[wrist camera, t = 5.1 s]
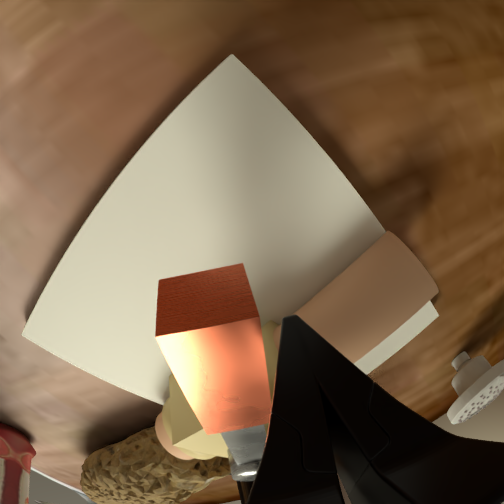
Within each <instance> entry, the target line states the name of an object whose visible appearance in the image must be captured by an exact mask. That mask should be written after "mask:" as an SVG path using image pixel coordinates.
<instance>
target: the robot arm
mask: <svg viewBox="0 0 504 504" xmlns="http://www.w3.org/2000/svg"><path fill="white" fill-rule="evenodd" d="M337 472H338V474H339V477H340V479H341V481H342V483H343V486H344V488H345V490H346V492H347V494H348V497H349V499H350V501H351V503H352V504H504V443H503V442H493V441H485V440H478V439H470V438H464V437H460V436H456V435H454V434H451V433H449V432H447V431H445V430H443V429H442V428H440V427H438V426H437V425H435V424H433V423H432V422H430V421H429V420H427V419H425V418H424V417H422V416H421V415H419V414H417V413H416V412H414V411H413V410H411V409H410V408H408V407H407V406H405V405H404V404H402V403H401V402H399V401H398V400H396V399H395V398H394V397H393V396H391V395H390V394H389V393H388V392H386V391H385V390H384V389H383V388H381V387H380V386H379V385H378V384H377V383H375V382H374V383H373V380H372V379H371V378H370V377H368V376H367V375H366V374H365V373H364V372H363V371H361V370H360V369H359V368H358V367H357V366H356V365H354V364H353V363H352V362H351V361H350V360H349V359H347V358H346V357H345V356H344V355H343V354H342V353H340V352H339V351H338V350H337V349H336V348H335V347H333V346H332V345H331V344H330V343H329V342H328V341H327V340H325V339H324V338H323V337H322V336H321V335H320V334H319V333H317V332H316V331H315V330H314V329H313V328H312V327H310V326H309V325H308V324H307V323H306V322H305V321H304V320H302V319H301V318H300V317H299V316H298V315H296V314H294V315H290V316H286V317H283V318H282V324H281V334H280V342H279V351H278V360H277V368H276V376H275V384H274V392H273V400H272V407H271V415H270V421H269V427H268V433H267V438H266V443H265V447H264V451H263V454H262V458H261V461H260V464H259V467H258V470H257V473H256V476H255V479H254V481H237V485H238V490H239V494H240V499H241V503H242V504H345V502H344V499H343V496H342V492H341V488H340V484H339V479H338V475H337ZM229 475H232V474H229Z"/></svg>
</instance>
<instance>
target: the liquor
mask: <svg viewBox="0 0 504 504" xmlns="http://www.w3.org/2000/svg"><path fill="white" fill-rule="evenodd" d="M35 455H36V451H35V450H34V448H33V447H32V445H31V444H30V442H29V441H28V439H27V438H26V436H25V435H23V434H22V433H21V432H19V431H18V430H16V429H14V428H12V427H10V426H8V425H5V424H2V423H0V504H28V500H29V498H28V497H29V480H30V468H31V459H32V458H33V457H34V456H35Z"/></svg>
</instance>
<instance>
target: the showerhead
mask: <svg viewBox="0 0 504 504" xmlns="http://www.w3.org/2000/svg"><path fill="white" fill-rule="evenodd" d="M452 365H453V367H454V368H455V369H456V371H457V373H456V375H455V376H454V378H453V380H452V385H453V387H454V389H455V390H456V392H457V394H458V395H459V398H458V399H457V400H456V401H455V402H454V403H453V405H452V406H451V407H450V408H449V410H448V412H447V416H448V417H449V419H450V421H451V423H452V424H456V423H461V422H462V421H463V422H465V421H466V420H467V419H470V418H471V417H472V416H473V415H474V414H478V412H480V410H481V409H484V408H485V407H486V406H487V405H489V404H490V403H491V402H492V401H493V400H494V399H495V398H496V397H497V396H498V395H500V393H501V392H502V390H503V388H504V360H502V361H500V362H499V363H497V364H496V365H494V366H493V367H492V366H491V365H490V364H489V363H488V361H487V360H486V359H485V358H484V356H477V357H475V358H473V359H471V358H470V357H469V356H468V354H467V353H466V352H465V351H464V352H462V353H460V354H459V355H458V356H457V357H456V358H455V359H454V360H453V362H452Z"/></svg>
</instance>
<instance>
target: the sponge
mask: <svg viewBox="0 0 504 504" xmlns="http://www.w3.org/2000/svg"><path fill="white" fill-rule="evenodd" d="M82 470H83V472H82V474H81V481H80V485H81V486H82V491H83V492H84V493H85V494H86V495H87V496H88V497H89V498H90V499H91V500H92V501H94V502H96V503H98V504H179V503H180V502H182V501H185V500H186V499H187V498H188V497H189V496H190V494H191V493H195V492H198V491H200V490H202V489H204V488H205V487H207V486H208V485H209V484H210V483H211V482H212V481H214V480H217V479H220V478H223V477H225V476H227V475H229V474H231V469H230V464H229V459H228V458H226V457H220V456H215V457H213V458H211V459H206V460H201V459H196V458H194V459H190V460H184V459H180V458H177V457H175V456H173V455H172V454H170V453H169V452H168V451H167V450H166V449H165V448H164V447H163V446H162V444H161V443H160V441H159V439H158V437H157V434H156V430H155V426H153V427H150V428H146V429H144V430H142V431H140V432H137V433H135V434H134V435H131V436H130V437H128V438H127V439H125V440H123V441H121V442H118V443H116V444H112V445H109V446H106V447H105V448H102V449H99V450H96V451H95V452H93V453H92V454H90V455H89V457H88V458H87V459H86V460H85V461H84V464H83V465H82Z"/></svg>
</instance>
